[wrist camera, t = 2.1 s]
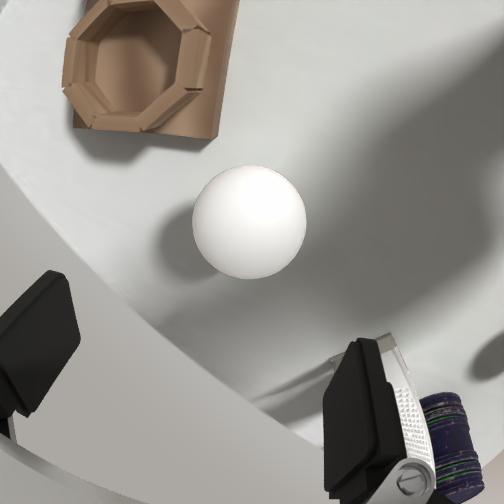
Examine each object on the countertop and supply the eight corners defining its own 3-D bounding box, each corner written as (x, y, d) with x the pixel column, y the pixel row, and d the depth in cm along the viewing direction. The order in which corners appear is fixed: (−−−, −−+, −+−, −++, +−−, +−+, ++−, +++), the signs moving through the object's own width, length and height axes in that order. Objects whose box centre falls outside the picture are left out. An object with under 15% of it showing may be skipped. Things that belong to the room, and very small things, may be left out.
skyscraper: (402, 326, 29) (451, 611, 4) (420, 369, 32) (458, 597, 7) (329, 358, 32) (323, 629, 8) (357, 395, 35) (361, 616, 10)
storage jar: (390, 410, 36) (403, 509, 23) (457, 381, 32) (486, 478, 19) (406, 436, 39) (416, 519, 26) (463, 412, 36) (484, 494, 22)
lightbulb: (270, 127, 22) (249, 154, 12) (319, 191, 24) (333, 263, 14) (208, 175, 24) (151, 234, 15) (257, 232, 26) (233, 320, 17)
